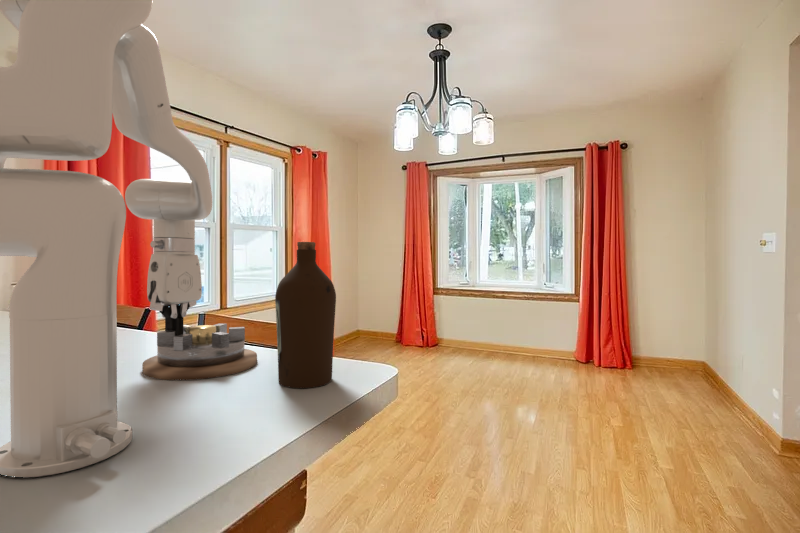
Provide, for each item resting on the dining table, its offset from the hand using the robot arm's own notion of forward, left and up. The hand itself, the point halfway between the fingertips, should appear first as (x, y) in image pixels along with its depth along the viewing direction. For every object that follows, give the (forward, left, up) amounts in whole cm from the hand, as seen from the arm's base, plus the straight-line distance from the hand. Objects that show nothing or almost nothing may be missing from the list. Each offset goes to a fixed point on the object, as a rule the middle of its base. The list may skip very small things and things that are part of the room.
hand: (174, 336), depth 89 cm
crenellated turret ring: (-6, -2, -4) cm, 8 cm away
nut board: (-6, -2, -6) cm, 9 cm away
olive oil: (-31, -4, -6) cm, 32 cm away
